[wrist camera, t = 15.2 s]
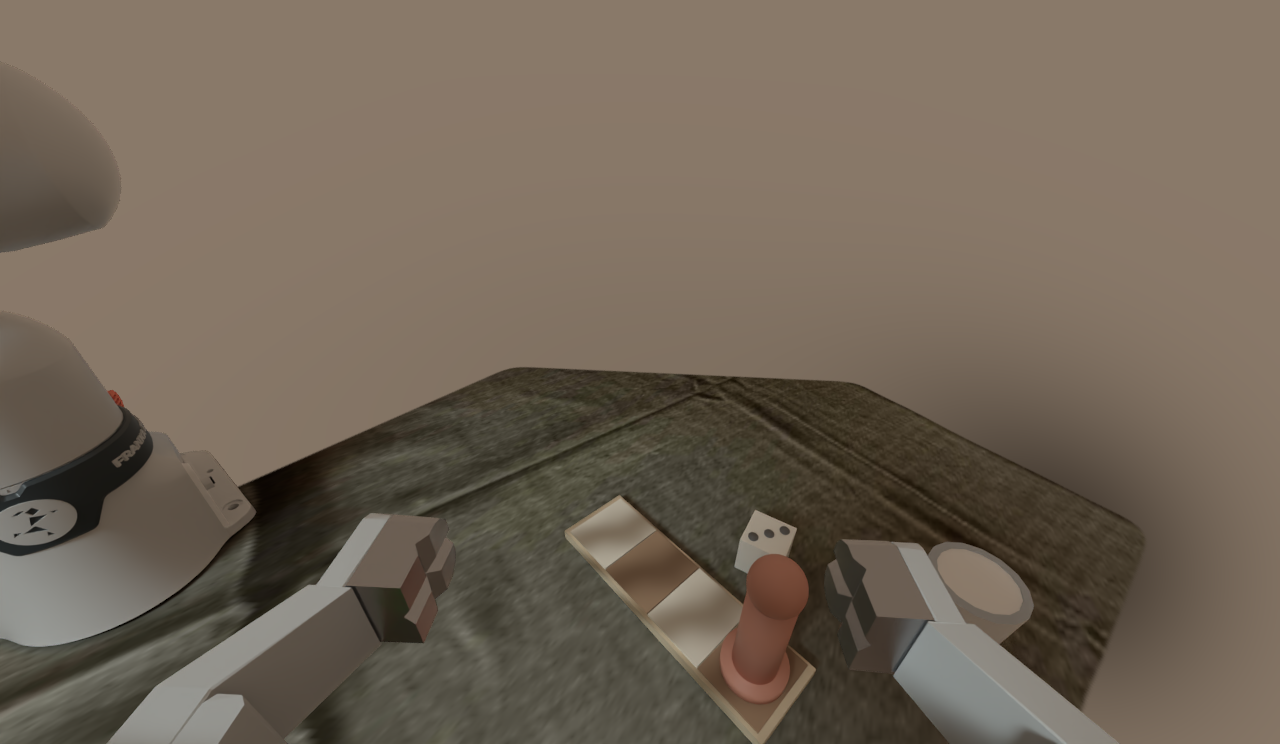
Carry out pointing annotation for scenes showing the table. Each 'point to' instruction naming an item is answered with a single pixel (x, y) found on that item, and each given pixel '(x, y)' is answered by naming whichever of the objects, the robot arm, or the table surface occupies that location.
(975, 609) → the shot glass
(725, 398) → the table surface
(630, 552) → the board
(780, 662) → the pawn
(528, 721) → the table surface
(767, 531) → the die
